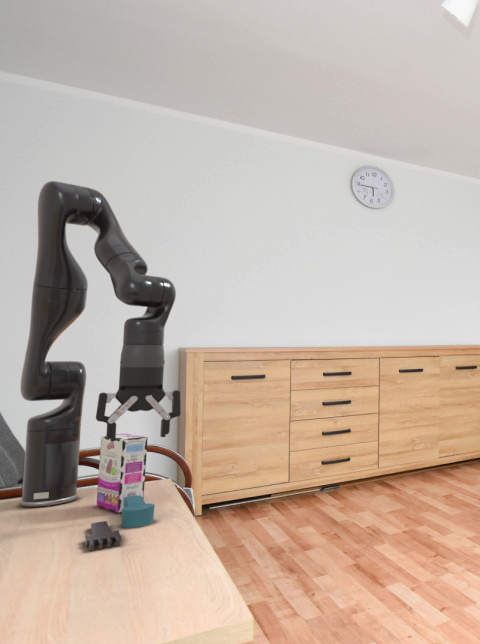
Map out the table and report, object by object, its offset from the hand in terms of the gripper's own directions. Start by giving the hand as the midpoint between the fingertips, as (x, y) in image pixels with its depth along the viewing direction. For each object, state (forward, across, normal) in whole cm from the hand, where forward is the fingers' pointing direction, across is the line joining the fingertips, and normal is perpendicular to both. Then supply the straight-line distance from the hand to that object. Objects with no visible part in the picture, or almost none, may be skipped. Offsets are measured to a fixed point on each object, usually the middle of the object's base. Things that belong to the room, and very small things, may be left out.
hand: (138, 438), depth 123 cm
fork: (+17, +6, +13) cm, 22 cm away
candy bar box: (+17, +2, -11) cm, 20 cm away
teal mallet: (+17, 0, +3) cm, 17 cm away
